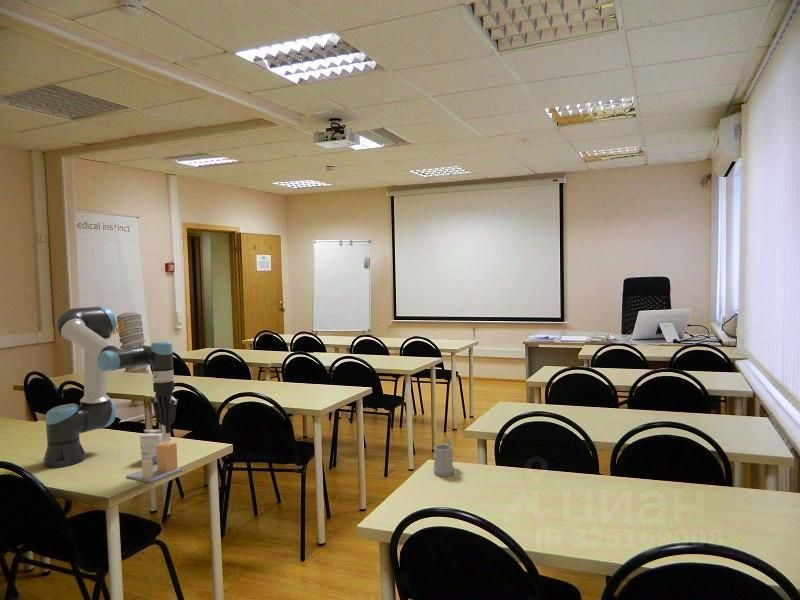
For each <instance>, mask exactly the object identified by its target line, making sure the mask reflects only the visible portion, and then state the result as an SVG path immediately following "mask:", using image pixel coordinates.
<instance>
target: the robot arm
mask: <svg viewBox="0 0 800 600" xmlns="http://www.w3.org/2000/svg"><path fill="white" fill-rule="evenodd" d="M117 326H118V325H117V317H116V315H115V314H114V312H113V310H112V309H111V308H110V307H107V306H88V307H75V308H74V307H72V308H70V309H67V310H64V311H63V312H62V313H60V315H58V317H57V318H56V322H55V329H56V331H57V333H58V335H59V336H61V338H63V339H65V340H66V341H72V342H74V344H76V345H78V346H79V347H80V348H82V349H83V357H84V358H83V383H84V384H83V396H82V398H80V399H79V405H78V404H76V403H67V404H62V405H58V406H55V407H52V408H51V409H49V410H48V411H47V412H46V416H45V427H46V428H45V429H46V430H45V431H46V441H47V442H46V443H47V444H46V446H47V447H46V451H45V454H44V457H43V461H42V464H43V467H45V468H63V467H68V466H73V465H76V464H79V463H81V462H84V461H85V459H86V453H85V450H84V447H83V445H82V444H81V443H82V442H81V441H80V434H82V433H87V432H92V431H94V430H102V429H103V428H106V427H109V426H111V425H112V424H113V423H114V421H115V419H116V417H117V408H116V404H115V402H114V401H113V400H111V397H110V396H109V395H108V394H107V372H109V371H111V372H113V371H117V370H123V369H128V368H129V369H130V368H136V367H141V366H151V369H152V380H153V383H152V389H153V393H155V394H154V397H152V398H150V401H151V404H152V407H153V411H154V417H155V421H156V423H158V424H159V425H160V430H161V432H162V442H167V441H169V442H171V440H172V439H171V438H172V437H171V432H172V424H174V423H175V422H176V415H177V413H176V412H177V407H178V406H177V405H178V403H179V399H178V398H177V399H176V398H175V397H174V394H173V392H174V390H175V381H174V379H175V375H174V350H173V346H172V345H173V344H172V342H171V341H170V340H169V341H168V340H165V341H164V340H162V341H161V340H160V341H154V342H152V343H151V345H137V346H135V347H127V348H126V347H125V348H118V347H117V346H116V345H114V344H113V343H111V342H110V341H108V340H110V339H111V333H113V332H115V331H116V329H117Z"/></svg>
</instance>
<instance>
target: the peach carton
mask: <svg viewBox="0 0 800 600" xmlns="http://www.w3.org/2000/svg"><path fill="white" fill-rule="evenodd" d="M177 449H178V446H177V442H173V441H169V442H164V443H161V444H158V445H156V452H157V463H156V465H157V471H162V472H169V471H171V470H174V469H176V468H178V467H179V466H178V453H177V452H178V450H177Z"/></svg>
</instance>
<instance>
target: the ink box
mask: <svg viewBox="0 0 800 600" xmlns="http://www.w3.org/2000/svg"><path fill="white" fill-rule="evenodd" d="M143 432H144V433H142V434H140V435H139V442H140V443H139V444H140V445H139V446H140V455H141V457H140V458H141V463H142V462H143V461H146V460H153V464H154V463H156V464H157V452H156V445H158V444H161V443H164V442H162V432H161V428H159V429H158V428H157V429H156V428H155V429H150V428H149V429H143ZM167 442H170V441H167Z"/></svg>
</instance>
